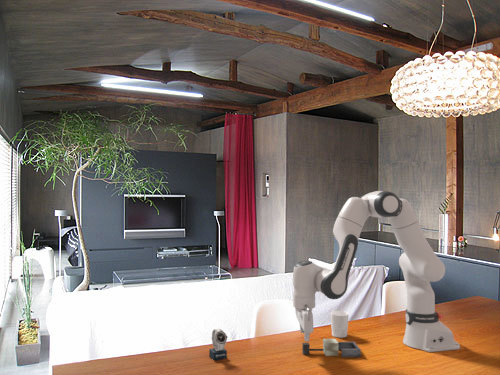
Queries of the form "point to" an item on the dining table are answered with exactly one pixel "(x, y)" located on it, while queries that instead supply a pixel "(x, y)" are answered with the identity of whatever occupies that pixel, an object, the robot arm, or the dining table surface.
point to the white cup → (339, 323)
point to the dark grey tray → (349, 349)
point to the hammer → (328, 347)
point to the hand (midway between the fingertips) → (304, 336)
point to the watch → (218, 345)
